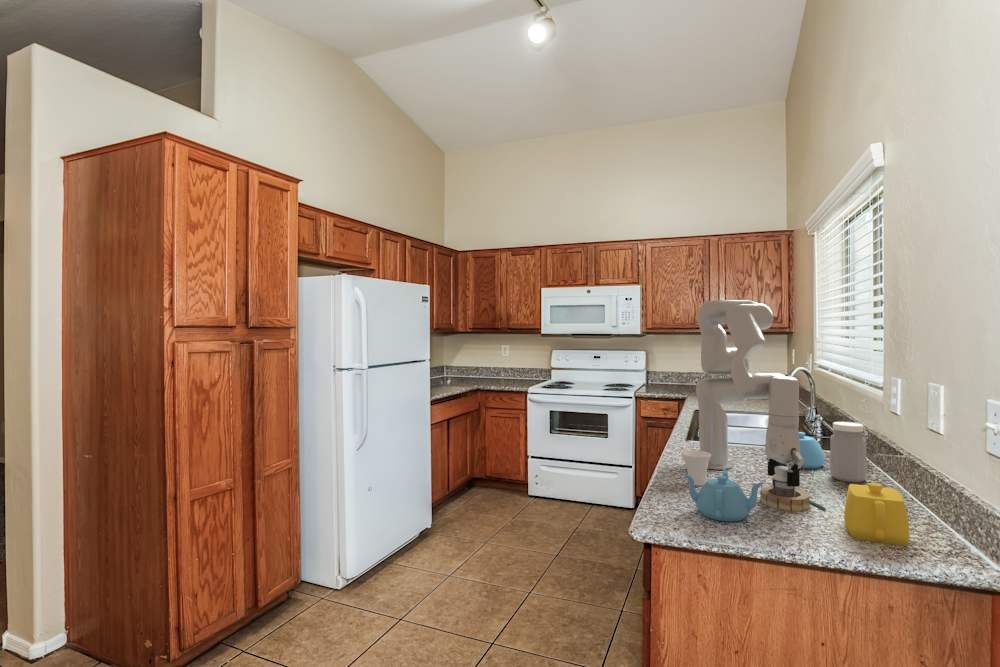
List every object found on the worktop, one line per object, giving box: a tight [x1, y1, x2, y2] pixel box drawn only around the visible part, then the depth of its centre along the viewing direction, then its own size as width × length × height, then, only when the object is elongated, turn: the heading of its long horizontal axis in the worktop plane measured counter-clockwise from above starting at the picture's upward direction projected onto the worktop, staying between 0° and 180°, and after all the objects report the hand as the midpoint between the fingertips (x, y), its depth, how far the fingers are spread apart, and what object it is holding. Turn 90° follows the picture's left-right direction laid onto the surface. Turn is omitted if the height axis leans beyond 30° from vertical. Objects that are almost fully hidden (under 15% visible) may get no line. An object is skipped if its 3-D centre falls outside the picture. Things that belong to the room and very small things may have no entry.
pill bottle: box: [771, 465, 796, 497], centre depth 147 cm, size 6×6×10 cm
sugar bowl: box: [783, 431, 826, 470], centre depth 189 cm, size 15×15×12 cm
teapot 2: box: [843, 482, 910, 547], centre depth 126 cm, size 20×12×12 cm, turn 151°
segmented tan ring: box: [759, 485, 810, 512], centre depth 147 cm, size 12×12×3 cm
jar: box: [829, 421, 868, 483], centre depth 170 cm, size 10×10×18 cm
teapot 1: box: [682, 469, 765, 523], centre depth 139 cm, size 15×15×10 cm
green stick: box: [809, 499, 827, 511], centre depth 147 cm, size 13×1×1 cm, turn 2°
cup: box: [681, 449, 711, 487], centre depth 166 cm, size 9×9×10 cm
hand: (783, 480), depth 148 cm, fingers open, 9 cm apart
